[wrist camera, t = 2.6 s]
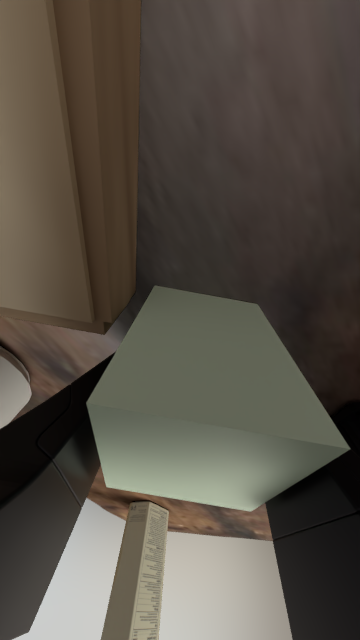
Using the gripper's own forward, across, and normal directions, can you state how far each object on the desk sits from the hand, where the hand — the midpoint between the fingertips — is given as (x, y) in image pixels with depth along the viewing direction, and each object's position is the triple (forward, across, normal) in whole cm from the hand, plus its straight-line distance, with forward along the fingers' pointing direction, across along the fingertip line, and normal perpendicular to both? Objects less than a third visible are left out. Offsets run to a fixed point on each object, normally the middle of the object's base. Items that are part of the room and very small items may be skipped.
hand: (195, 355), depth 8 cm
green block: (+2, 0, 0) cm, 2 cm away
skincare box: (+2, 0, +38) cm, 38 cm away
